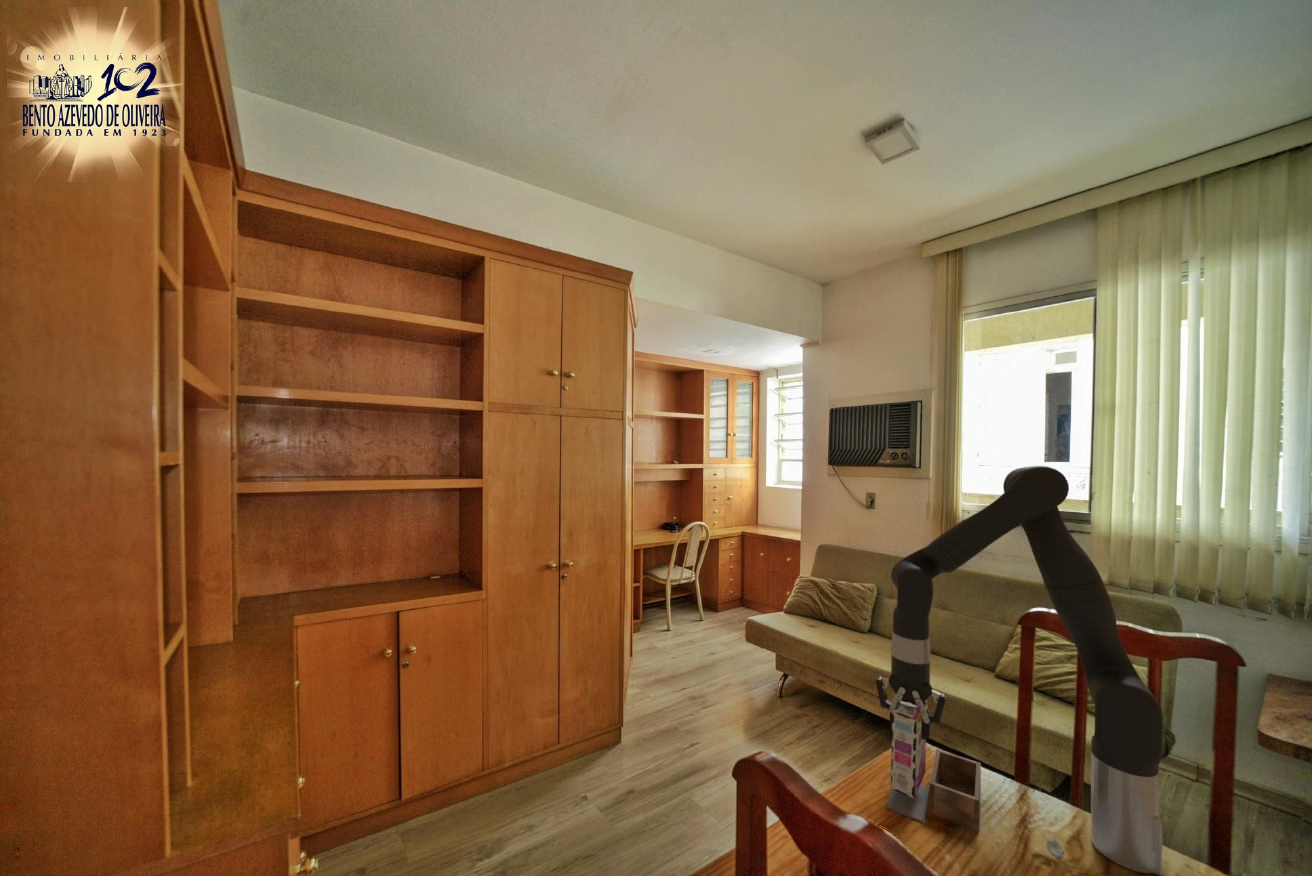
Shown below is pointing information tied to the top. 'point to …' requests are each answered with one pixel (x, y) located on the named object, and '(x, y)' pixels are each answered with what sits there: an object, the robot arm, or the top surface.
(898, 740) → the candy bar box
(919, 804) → the grey mat
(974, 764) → the walnut sleeve
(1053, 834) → the top surface
